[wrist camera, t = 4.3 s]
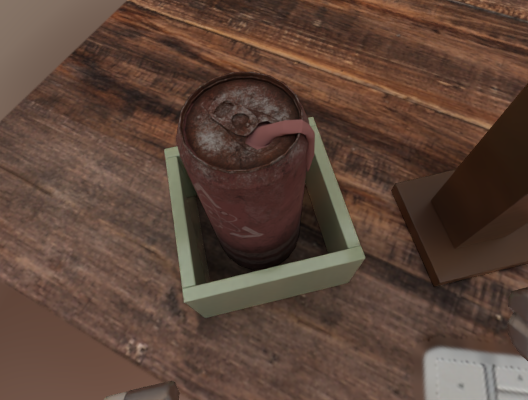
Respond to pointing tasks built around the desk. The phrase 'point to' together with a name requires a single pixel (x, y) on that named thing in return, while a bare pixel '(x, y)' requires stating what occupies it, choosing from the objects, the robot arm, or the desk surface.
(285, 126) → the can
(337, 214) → the holder
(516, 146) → the post
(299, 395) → the desk surface
